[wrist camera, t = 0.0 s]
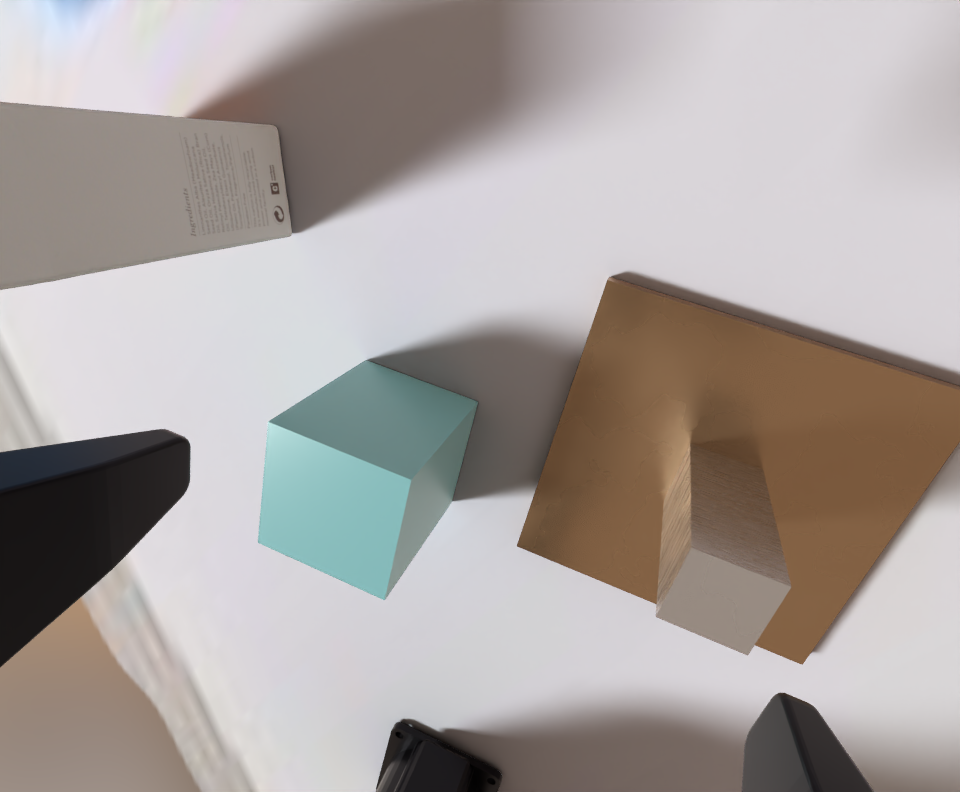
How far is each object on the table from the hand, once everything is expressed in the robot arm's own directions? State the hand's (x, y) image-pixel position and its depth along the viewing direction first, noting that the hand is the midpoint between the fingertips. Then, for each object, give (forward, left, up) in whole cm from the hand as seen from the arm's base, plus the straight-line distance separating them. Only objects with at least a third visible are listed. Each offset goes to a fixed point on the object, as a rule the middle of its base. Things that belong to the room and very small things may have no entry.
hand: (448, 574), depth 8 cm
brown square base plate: (-4, -6, -15) cm, 16 cm away
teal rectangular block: (-7, +6, -15) cm, 17 cm away
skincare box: (+1, +16, -15) cm, 22 cm away
